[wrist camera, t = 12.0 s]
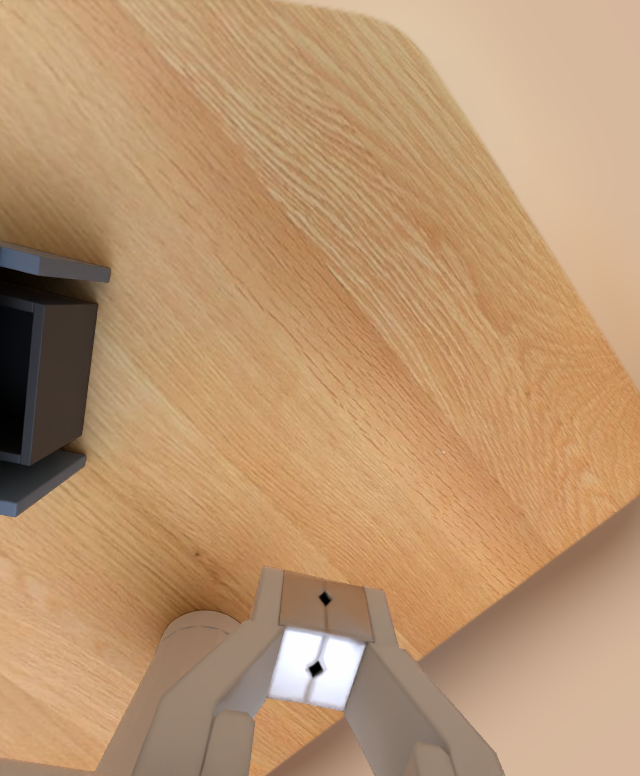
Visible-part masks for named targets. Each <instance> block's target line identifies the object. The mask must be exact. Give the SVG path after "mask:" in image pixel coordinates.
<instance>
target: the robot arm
mask: <svg viewBox="0 0 640 776" xmlns="http://www.w3.org/2000/svg"><path fill="white" fill-rule="evenodd" d="M266 698H269V699H276V700H283V701H291V702H298V703H305V704H310V705H314V706H319V707H324V708H329V709H334V710H338V711H343V712H344V715H345V717H346V719H347V721H348V723H349V725H350V727H351V729H352V731H353V733H354V735H355V737H356V739H357V741H358V743H359V745H360V747H361V749H362V751H363V753H364V755H365V757H366V759H367V761H368V763H369V765H370V767H371V769H372V771H373V773H374V775H375V776H505V774H504V771H503V769H502V766H501V764H500V762H499V759H498V757H497V754H496V753H495V752H494V750H493V749H492V748H491V747H490V746H489V745H488V744H487V742H486V741H485V740H484V739H483V738H482V737H481V735H480V734H479V733H478V732H477V731H476V730H475V729H474V727H473V726H472V725H471V724H470V723H469V722H468V721H467V719H466V718H465V717H464V716H463V715H462V714H461V713H460V711H459V710H458V709H457V708H456V707H455V706H454V705H453V703H452V702H451V701H450V700H449V699H448V698H447V697H446V695H445V694H444V693H443V692H442V691H441V690H440V688H438V686H437V685H436V684H435V683H434V682H433V681H432V679H431V678H430V677H429V676H428V675H427V674H426V673H425V671H424V670H423V669H422V668H421V667H420V666H419V664H418V663H417V662H416V661H415V660H414V659H413V658H412V656H411V655H410V654H409V653H408V652H407V651H406V650H405V649H401V648H399V645H398V642H397V638H396V634H395V630H394V626H393V622H392V618H391V614H390V611H389V607H388V603H387V599H386V595H385V592H384V591H383V590H382V589H378V588H372V587H366V586H357V585H352V584H347V583H342V582H337V581H332V580H327V579H323V578H318V577H314V576H309V575H305V574H301V573H296V572H292V571H287V570H284V571H283V570H282V569H277V568H273V567H268V566H263V567H262V570H261V573H260V577H259V581H258V585H257V589H256V593H255V597H254V601H253V605H252V609H251V613H250V617H249V620H247V619H246V620H245V621H244V622H243V623H241V624H240V625H239V626H238V627H237V628H236V629H235V630H234V631H233V632H231V633H230V634H229V635H228V636H227V637H226V638H225V639H224V640H222V641H221V642H220V643H219V644H218V645H217V646H216V647H215V648H214V649H212V650H211V651H210V652H209V653H208V654H207V655H206V656H205V657H204V658H202V659H201V660H200V661H199V662H198V663H197V664H196V665H195V666H194V667H192V668H191V669H190V670H189V671H188V672H187V673H186V674H185V675H184V676H182V677H181V678H180V679H179V680H178V681H177V682H176V683H175V684H174V685H172V686H171V687H170V688H169V689H168V690H167V691H166V692H165V693H164V694H162V695H161V698H160V701H159V703H158V706H157V708H156V711H155V714H154V716H153V719H152V721H151V724H150V727H149V729H148V732H147V735H146V737H145V740H144V742H143V745H142V748H141V750H140V753H139V755H138V758H137V761H136V763H135V766H134V768H133V771H132V774H131V776H249V768H250V760H251V752H252V744H253V736H254V727H255V721H254V720H253V718H254V717H255V715H256V714H257V712H258V711H259V710H260V708H261V707H262V705H263V704H264V702H265V701H266ZM0 776H119V775H112V774H106V773H99V772H93V771H86V770H80V769H73V768H66V767H60V766H53V765H47V764H40V763H34V762H27V761H21V760H14V759H8V758H1V757H0Z"/></svg>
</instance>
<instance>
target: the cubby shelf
mask: <svg viewBox="0 0 640 776" xmlns="http://www.w3.org/2000/svg"><path fill="white" fill-rule="evenodd" d="M0 266H1V267H6V268H10V269H14V270H18V271H22V272H26V273H30V274H34V275H38V276H47V277H57V278H67V279H76V280H86V281H96V282H105V283H108V282H109V277H110V268H107V267H103V266H99V265H95V264H91V263H87V262H83V261H79V260H75V259H71V258H67V257H63V256H59V255H55V254H52V253H48V252H44V251H40V250H36V249H32V248H28V247H24V246H20V245H16V244H12V243H8V242H4V241H0ZM85 458H86V456H85V455H82V454H77V453H72V452H68V451H63V450H56V451H54V452H53V453H51V454H49V455H47V456H46V457H44V458H42V459H41V460H39V461H37V462H36V463H34V464H32V465H31V466H28V465H23V464H18V463H13V462H8V461H3V460H0V515H5V516H11V517H17V516H18V515H19V514H21V513H22V512H23V511H25V510H26V509H28V508H29V507H30V506H32V505H33V504H34V503H36V502H37V501H38V500H40V499H41V498H42V497H44V496H45V495H46V494H48V493H49V492H50V491H52V490H53V489H54V488H56V487H57V486H59V485H60V484H61V483H63V482H64V481H65V480H67V479H68V478H69V477H71V476H72V475H73V474H75V473H76V472H77V471H79V470H80V469H81V468H83V467H84V466H85Z"/></svg>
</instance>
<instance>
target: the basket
mask: <svg viewBox="0 0 640 776" xmlns="http://www.w3.org/2000/svg"><path fill="white" fill-rule="evenodd" d="M97 308H98V305H97V304H94V303H90V302H86V301H82V300H78V299H73V298H69V297H65V296H61V295H57V294H53V293H49V292H44V291H40V290H36V289H32V288H28V287H24V286H19V285H15V284H11V283H7V282H3V281H0V460H3V461H8V462H13V463H18V464H23V465H28V466H31V465H32V464H34V463H36V462H37V461H39V460H41V459H42V458H44V457H46V456H47V455H49V454H51V453H53V452H54V451H56V450H58V449H59V448H61V447H63V446H64V445H66V444H68V443H69V442H71V441H73V440H74V439H76V438H78V437H80V436H81V435H82V429H83V421H84V413H85V405H86V397H87V389H88V381H89V373H90V364H91V356H92V348H93V340H94V332H95V324H96V316H97Z"/></svg>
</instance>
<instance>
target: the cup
mask: <svg viewBox="0 0 640 776" xmlns="http://www.w3.org/2000/svg"><path fill="white" fill-rule="evenodd" d="M239 625H240V623H239V622H237V621H236V620H235V619H233V618H232V617H230V616H228V615H226V614H223V613H220V612H216V611H208V610H202V611H194V612H190V613H187V614H184V615H182V616H180V617H178V618H177V619H175V620H174V621H173V622H172V623H171V624H170V625H169V626H168V627H167V628H166V630H165V631H164V633H163V636H162V638H161V640H160V643H159V645H158V647H157V650H156V652H155V655H154V658H153V660H152V662H151V663H150V665H149V667H148V669H147V671H146V673H145V675H144V677H143V679H142V681H141V683H140V685H139V687H138V689H137V691H136V693H135V695H134V696H133V698H132V700H131V702H130V704H129V706H128V708H127V710H126V712H125V714H124V716H123V718H122V720H121V722H120V724H119V726H118V728H117V729H116V731H115V733H114V735H113V737H112V739H111V741H110V743H109V745H108V747H107V749H106V751H105V753H104V755H103V757H102V759H101V760H100V762H99V764H98V766H97V768H96V770H95V772H99V773H106V774H112V775H119V776H131V774H132V771H133V768H134V766H135V763H136V761H137V758H138V755H139V753H140V750H141V748H142V745H143V742H144V740H145V737H146V735H147V732H148V729H149V727H150V724H151V721H152V719H153V716H154V714H155V711H156V708H157V706H158V703H159V701H160V698H161V695H162V694H164V693H165V692H166V691H167V690H168V689H169V688H170V687H171V686H172V685H174V684H175V683H176V682H177V681H178V680H179V679H180V678H181V677H182V676H184V675H185V674H186V673H187V672H188V671H189V670H190V669H191V668H192V667H194V666H195V665H196V664H197V663H198V662H199V661H200V660H201V659H202V658H204V657H205V656H206V655H207V654H208V653H209V652H210V651H211V650H212V649H214V648H215V647H216V646H217V645H218V644H219V643H220V642H221V641H222V640H224V639H225V638H226V637H227V636H228V635H229V634H230V633H231V632H233V631H234V630H235V629H236V628H237V627H238V626H239Z"/></svg>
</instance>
